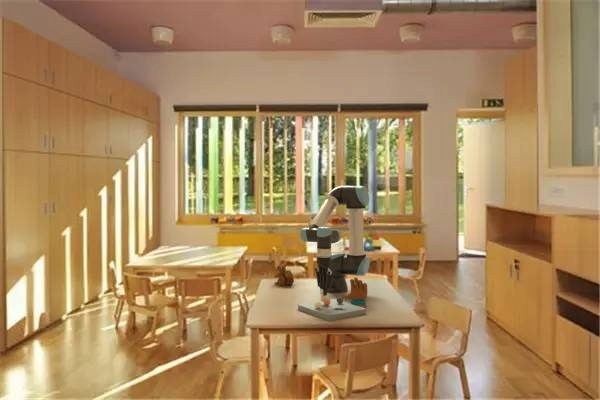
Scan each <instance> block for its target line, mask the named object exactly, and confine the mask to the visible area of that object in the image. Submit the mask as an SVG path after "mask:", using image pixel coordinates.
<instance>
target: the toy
mask: <svg viewBox="0 0 600 400" xmlns="http://www.w3.org/2000/svg"><path fill="white" fill-rule="evenodd" d="M349 283H350V292H349V293H347V294H346V295H344V301H348V300H350V304H352V305H366V300H367V297H368V284H367V282H363V280H362V279H359V278H358V277H356V276H355V277H354V278H351V279H350V280H349Z"/></svg>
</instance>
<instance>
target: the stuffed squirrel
mask: <svg viewBox="0 0 600 400" xmlns="http://www.w3.org/2000/svg"><path fill="white" fill-rule="evenodd" d="M286 268H287V264H286V263H284V264H283V263H281V264H278V265H277V266H276V269H275V270H276V271H277V272H276V273H275V274H274V275H273V276H274V278H276V279H277V278H278V279H277V281H275V282H274V285H275V284H277V285H276V286H285V285H287V286H291V285H293V284H294V283H295V280H294V275H293V272H292V270H290V269H286Z"/></svg>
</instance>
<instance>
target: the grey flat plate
mask: <svg viewBox="0 0 600 400" xmlns="http://www.w3.org/2000/svg"><path fill="white" fill-rule="evenodd" d="M329 300H330V304H329V305H325V304H324V302H321V300H320V301H319V300H318V301H313V302H307V303H300V304H298V305H297V309H298V310H299V311H300V312H301V311H302V312H304V313H306V314H309V315H312V316H315V317H318V318H320V319H322V320H326V321H328V322H330V321H334V320H335V321H336V320H339V319H345V318H351V317H357V316H360V315H361V316H362V315H366V314H367V308H365V307H362V306H358V305H357V304H352V303H349V302H345V301H343V302H342V303H341V304H339V303H338V302H337V298H331V299H329ZM316 302H320V303H321V307H320V308H319V309H317V308H316V307H315V303H316Z"/></svg>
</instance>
